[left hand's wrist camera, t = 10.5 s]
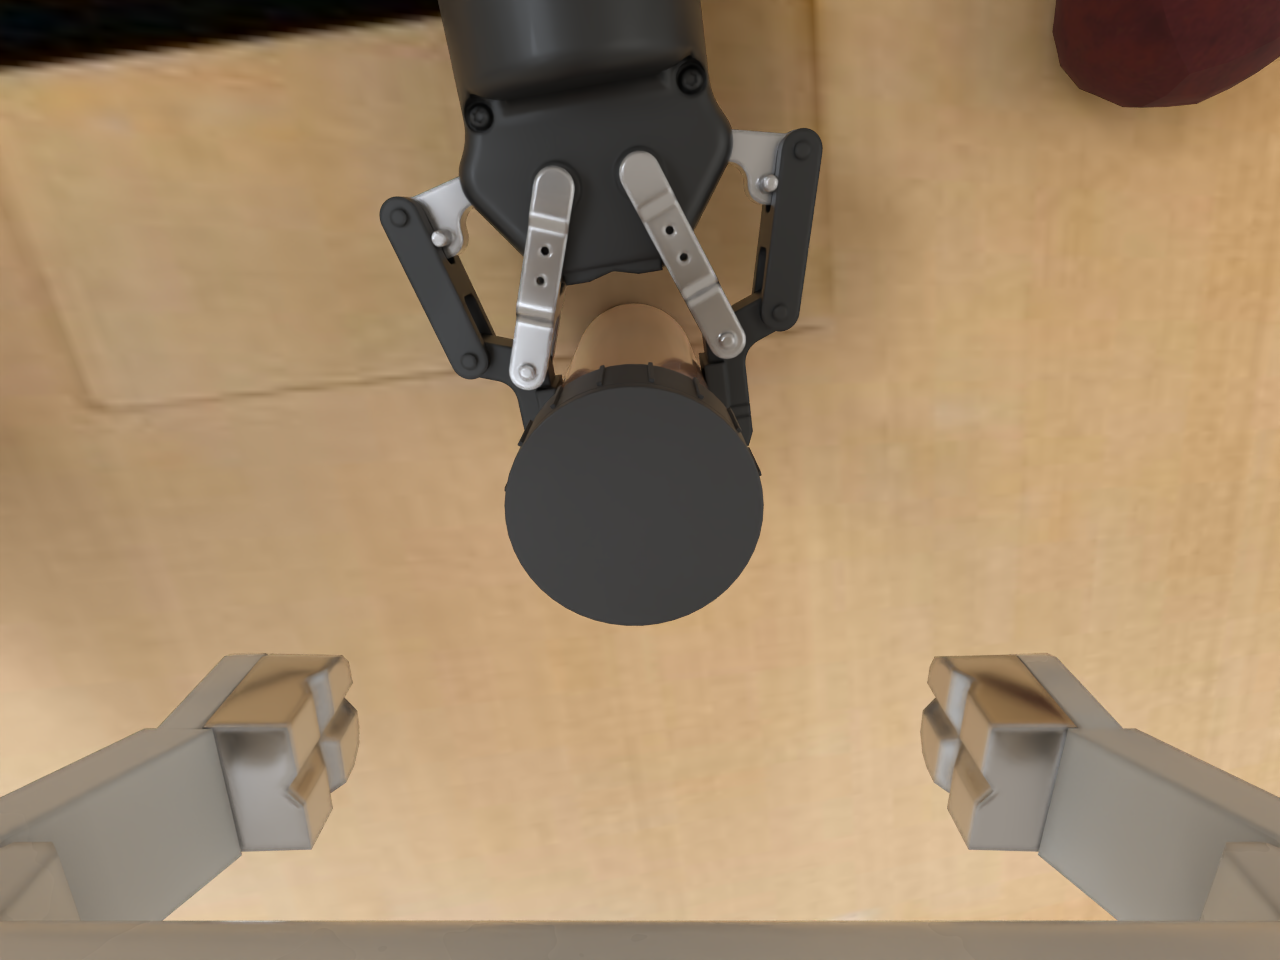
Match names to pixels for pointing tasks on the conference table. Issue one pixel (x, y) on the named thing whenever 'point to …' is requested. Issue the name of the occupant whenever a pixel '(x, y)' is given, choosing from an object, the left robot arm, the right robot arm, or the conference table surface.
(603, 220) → the right robot arm
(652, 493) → the lid
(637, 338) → the jar
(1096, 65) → the potato
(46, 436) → the conference table surface
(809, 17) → the conference table surface
